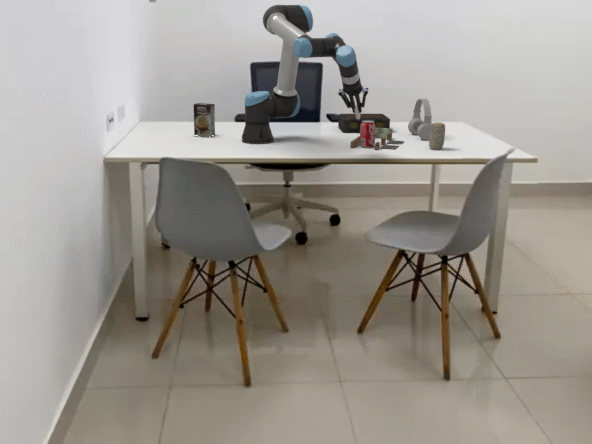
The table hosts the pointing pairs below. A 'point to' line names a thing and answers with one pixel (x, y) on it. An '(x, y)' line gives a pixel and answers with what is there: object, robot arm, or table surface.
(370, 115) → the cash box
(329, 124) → the table surface
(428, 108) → the headphones
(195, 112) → the coffee box
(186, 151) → the table surface
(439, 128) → the carved cylinder
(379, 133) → the brown and grey pieces
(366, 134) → the soda can
